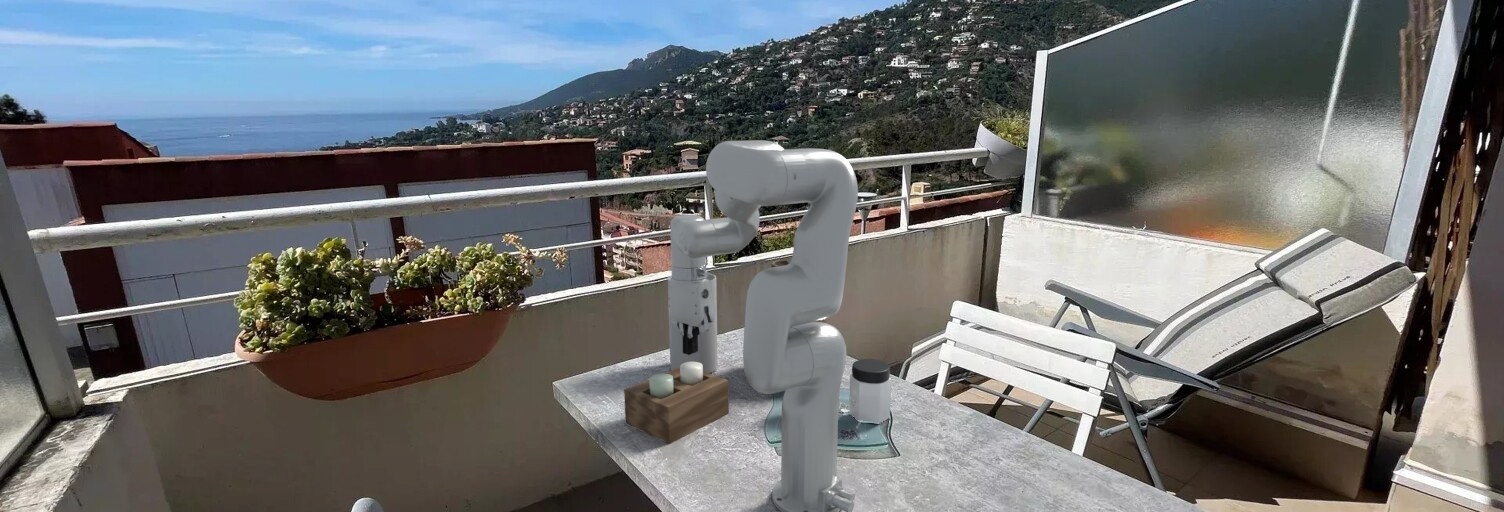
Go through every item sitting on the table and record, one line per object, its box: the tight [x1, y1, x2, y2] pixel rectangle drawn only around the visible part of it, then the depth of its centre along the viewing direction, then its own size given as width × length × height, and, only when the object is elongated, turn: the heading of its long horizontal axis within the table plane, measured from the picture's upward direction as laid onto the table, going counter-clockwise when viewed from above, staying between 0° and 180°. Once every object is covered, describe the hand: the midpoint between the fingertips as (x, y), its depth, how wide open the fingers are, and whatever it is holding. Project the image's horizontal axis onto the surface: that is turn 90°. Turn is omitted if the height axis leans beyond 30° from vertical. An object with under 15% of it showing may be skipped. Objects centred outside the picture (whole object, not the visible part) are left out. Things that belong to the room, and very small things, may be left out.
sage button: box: [648, 372, 674, 400], centre depth 136 cm, size 5×5×4 cm
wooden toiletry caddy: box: [623, 367, 730, 445], centre depth 140 cm, size 14×18×8 cm
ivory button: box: [680, 362, 703, 386], centre depth 143 cm, size 5×5×4 cm
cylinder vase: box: [667, 272, 719, 374], centre depth 167 cm, size 12×12×25 cm
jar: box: [848, 358, 892, 423], centre depth 141 cm, size 9×8×12 cm
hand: (690, 352), depth 142 cm, fingers closed
